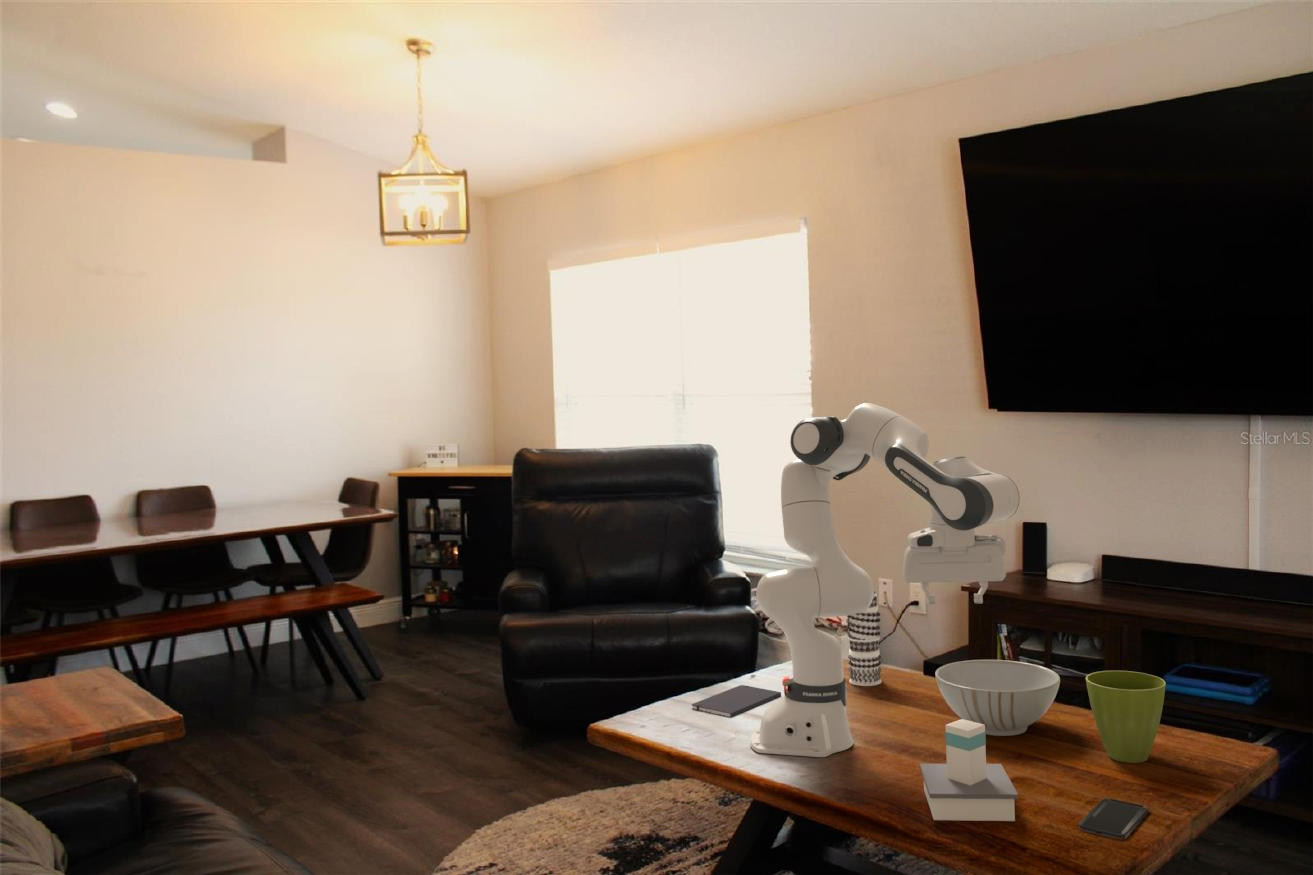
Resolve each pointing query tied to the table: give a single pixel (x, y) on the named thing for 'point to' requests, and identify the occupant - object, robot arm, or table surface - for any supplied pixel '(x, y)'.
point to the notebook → (736, 700)
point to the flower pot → (1126, 712)
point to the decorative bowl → (998, 693)
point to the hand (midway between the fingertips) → (954, 603)
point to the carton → (966, 751)
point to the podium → (969, 795)
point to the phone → (1113, 818)
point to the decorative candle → (864, 646)
